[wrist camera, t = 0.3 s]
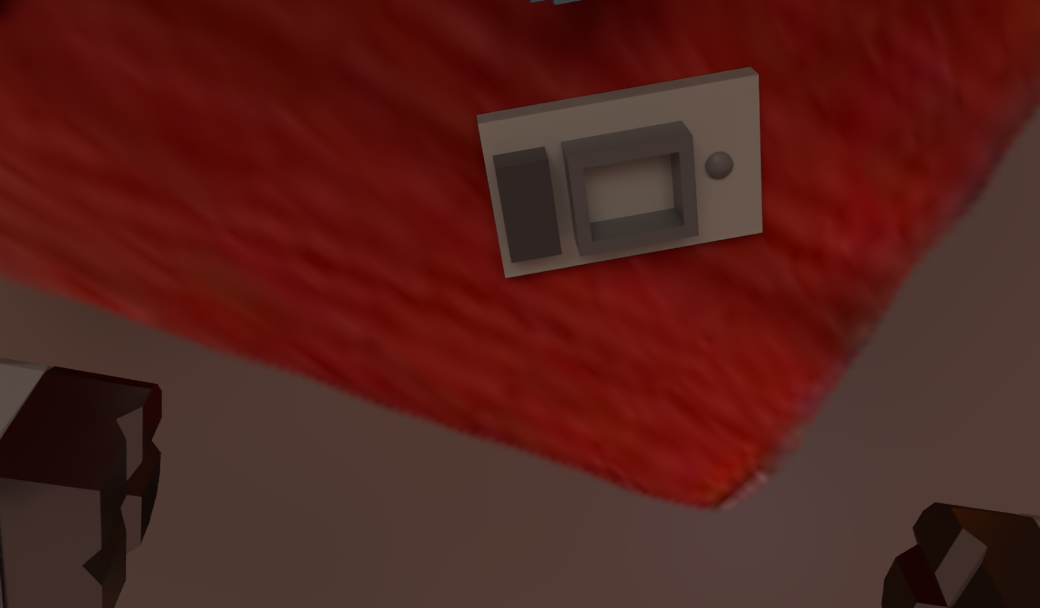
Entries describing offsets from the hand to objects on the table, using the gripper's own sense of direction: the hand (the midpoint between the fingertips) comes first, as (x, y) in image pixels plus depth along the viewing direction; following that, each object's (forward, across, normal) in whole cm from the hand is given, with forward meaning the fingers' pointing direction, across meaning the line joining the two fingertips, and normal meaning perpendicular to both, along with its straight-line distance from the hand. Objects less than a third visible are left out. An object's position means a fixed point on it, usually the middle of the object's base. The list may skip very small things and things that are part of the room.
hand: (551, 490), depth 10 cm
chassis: (+46, -10, +15) cm, 50 cm away
